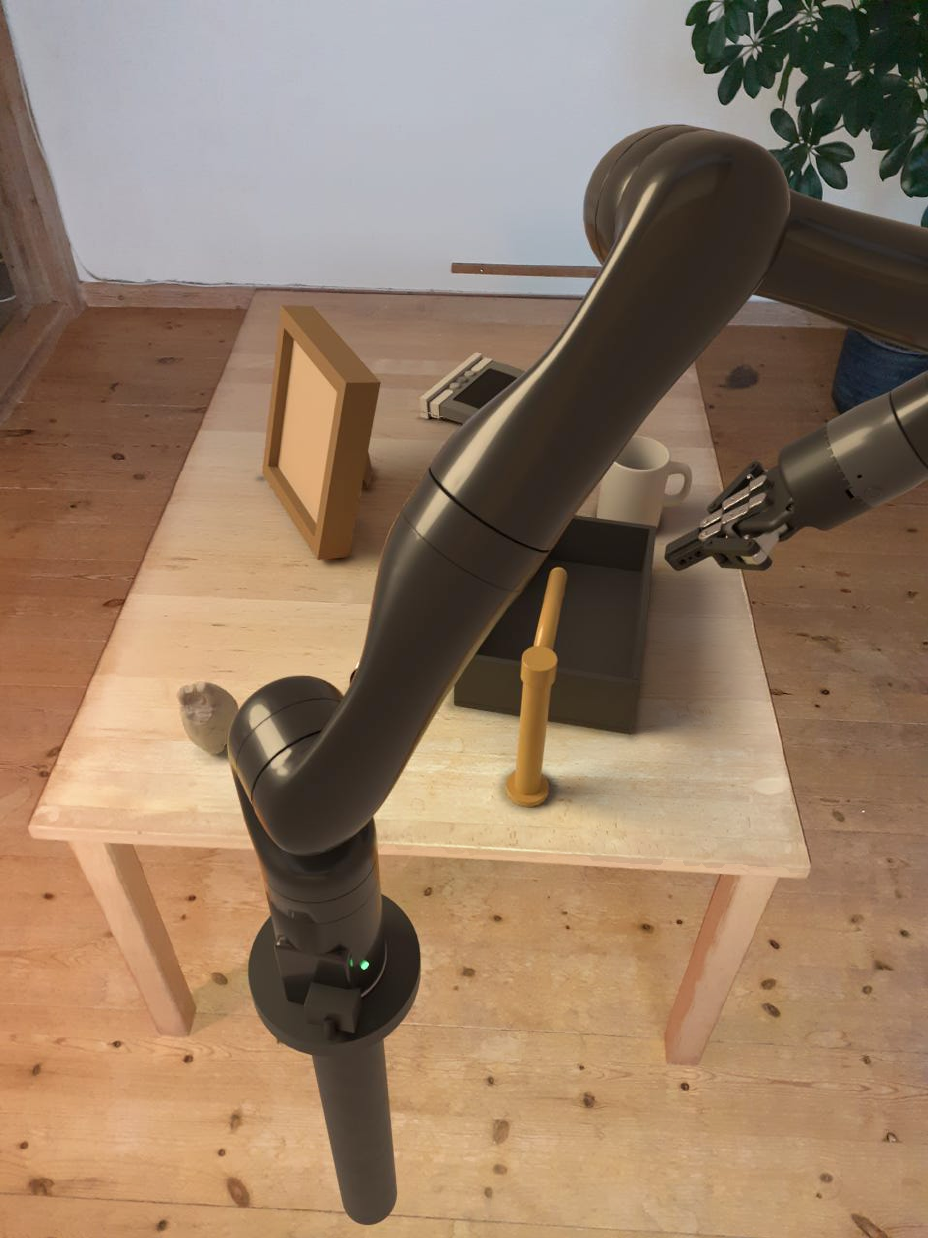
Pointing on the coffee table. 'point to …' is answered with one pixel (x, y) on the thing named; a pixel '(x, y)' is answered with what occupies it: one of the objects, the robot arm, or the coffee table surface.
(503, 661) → the sink
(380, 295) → the coffee table surface
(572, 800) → the coffee table surface
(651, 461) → the mug
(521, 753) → the faucet column
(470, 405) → the alarm clock
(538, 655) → the faucet spout
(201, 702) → the fossil
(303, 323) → the photo frame
